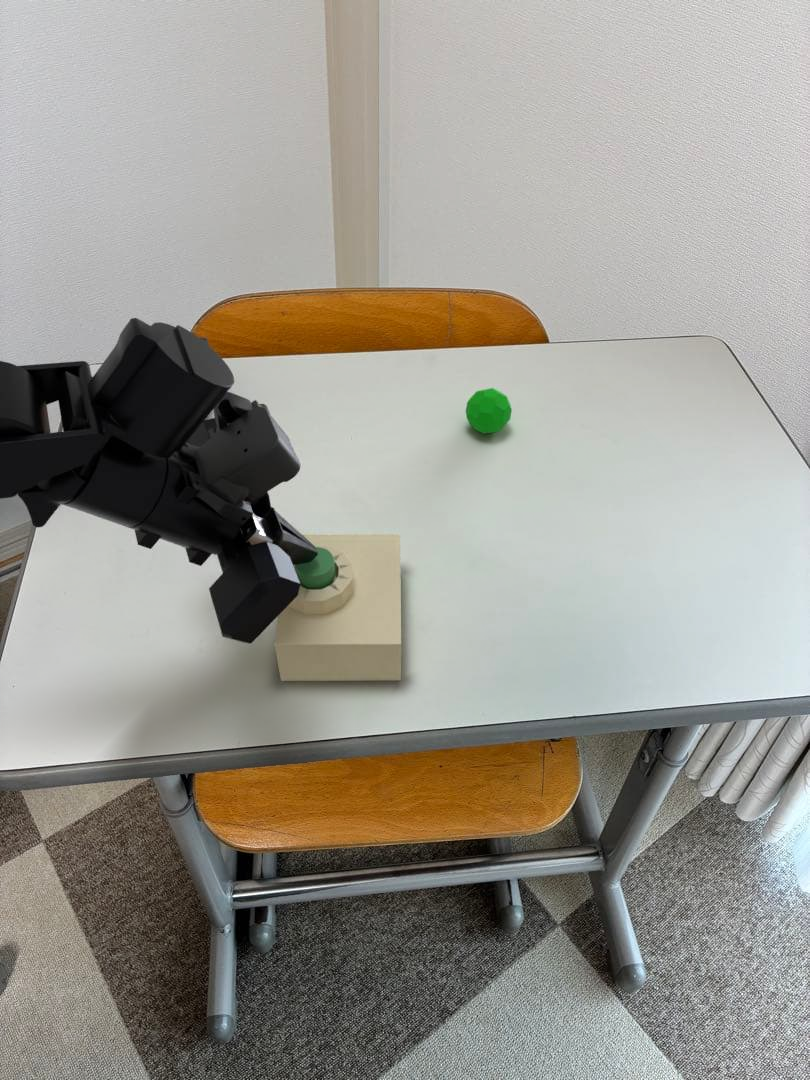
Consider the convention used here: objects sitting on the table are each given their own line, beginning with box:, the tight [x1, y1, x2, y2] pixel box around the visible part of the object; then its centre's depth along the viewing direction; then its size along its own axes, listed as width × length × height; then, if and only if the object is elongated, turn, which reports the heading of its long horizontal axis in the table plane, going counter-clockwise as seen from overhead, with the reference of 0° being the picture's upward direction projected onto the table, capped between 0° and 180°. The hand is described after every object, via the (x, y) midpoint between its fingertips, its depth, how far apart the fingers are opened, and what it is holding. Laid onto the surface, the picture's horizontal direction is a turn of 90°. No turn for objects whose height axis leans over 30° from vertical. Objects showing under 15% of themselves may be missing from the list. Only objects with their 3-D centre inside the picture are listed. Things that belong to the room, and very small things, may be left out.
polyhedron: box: [465, 387, 513, 435], centre depth 88 cm, size 5×5×5 cm
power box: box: [274, 534, 402, 682], centre depth 68 cm, size 10×12×7 cm
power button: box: [295, 547, 335, 589], centre depth 65 cm, size 3×3×2 cm
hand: (313, 554), depth 64 cm, fingers closed
